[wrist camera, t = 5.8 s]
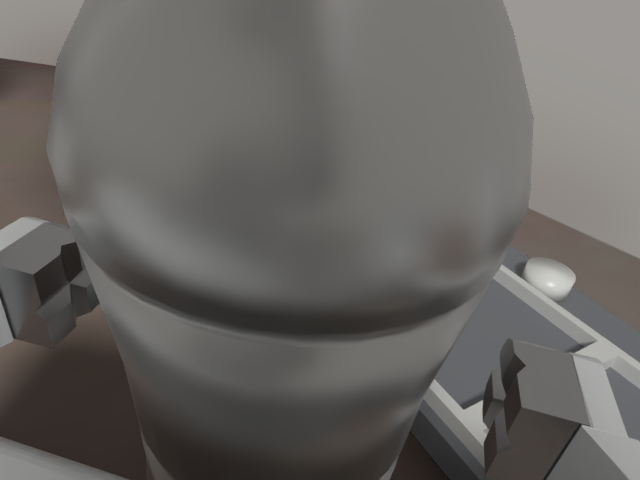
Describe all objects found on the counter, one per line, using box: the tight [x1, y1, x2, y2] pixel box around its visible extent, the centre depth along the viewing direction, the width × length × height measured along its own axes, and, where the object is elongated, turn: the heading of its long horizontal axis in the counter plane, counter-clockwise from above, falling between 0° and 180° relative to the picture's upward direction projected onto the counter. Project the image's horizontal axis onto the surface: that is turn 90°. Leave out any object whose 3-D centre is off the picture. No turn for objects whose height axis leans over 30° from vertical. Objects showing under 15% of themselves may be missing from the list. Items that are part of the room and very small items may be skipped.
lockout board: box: [410, 245, 640, 480], centre depth 25 cm, size 30×14×3 cm, turn 31°
